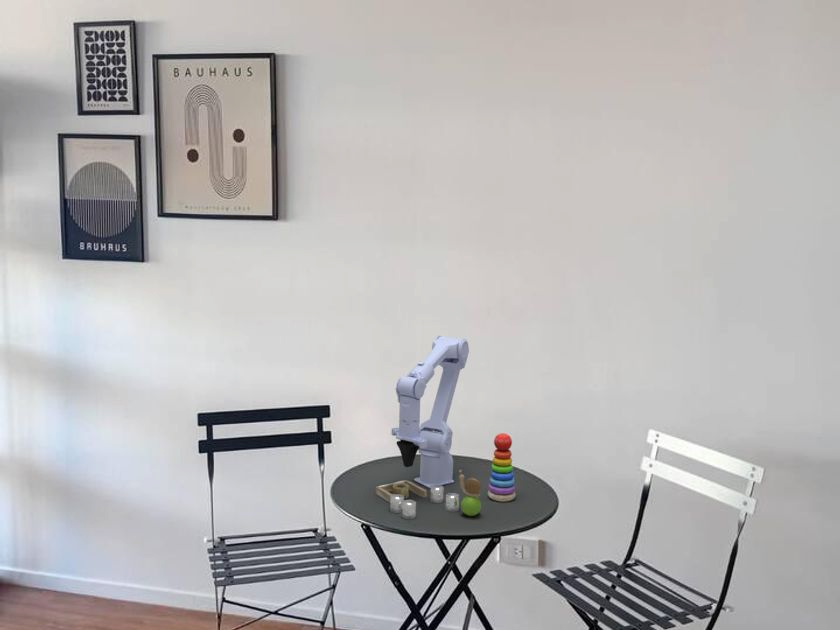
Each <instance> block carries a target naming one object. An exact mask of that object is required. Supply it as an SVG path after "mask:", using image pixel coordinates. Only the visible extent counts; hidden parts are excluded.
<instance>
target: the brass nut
mask: <svg viewBox="0 0 840 630" xmlns="http://www.w3.org/2000/svg"><path fill="white" fill-rule="evenodd" d="M409 491H410V490H409V486H408V484H404V483H397V484H393V491H392V495H393V494H401V495H403V496H404V499H407V498H409V496H410V495H409V494H410V492H409ZM409 499H410V498H409Z"/></svg>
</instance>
